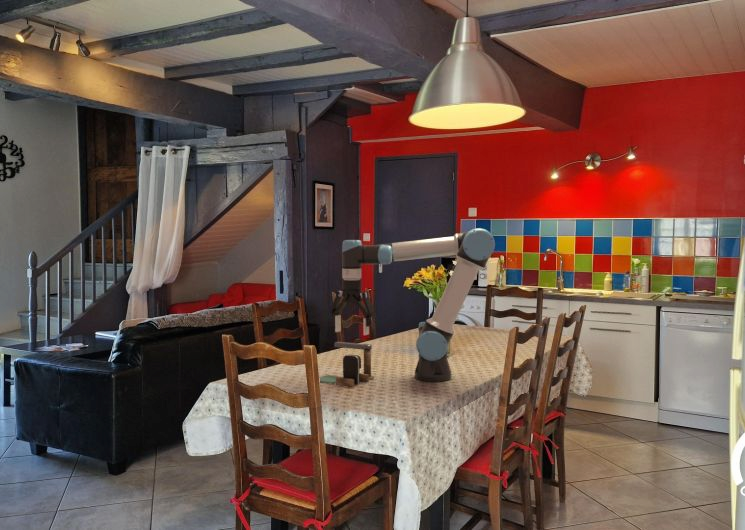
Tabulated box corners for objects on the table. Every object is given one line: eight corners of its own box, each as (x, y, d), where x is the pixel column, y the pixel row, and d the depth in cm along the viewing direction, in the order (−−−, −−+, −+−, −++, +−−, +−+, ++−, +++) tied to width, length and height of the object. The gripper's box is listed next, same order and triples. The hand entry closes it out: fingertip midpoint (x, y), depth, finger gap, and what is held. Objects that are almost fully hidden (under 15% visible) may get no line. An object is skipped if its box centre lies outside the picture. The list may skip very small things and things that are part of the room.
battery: (362, 383, 252) (362, 354, 251) (357, 385, 249) (357, 356, 248) (347, 381, 255) (347, 353, 255) (342, 383, 252) (342, 355, 251)
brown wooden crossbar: (368, 350, 258) (368, 346, 258) (333, 347, 266) (333, 342, 266) (373, 349, 261) (373, 344, 261) (338, 345, 269) (338, 341, 269)
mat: (347, 379, 259) (347, 377, 259) (332, 384, 251) (332, 382, 251) (328, 376, 265) (328, 374, 265) (312, 381, 257) (312, 379, 257)
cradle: (379, 378, 261) (378, 350, 260) (352, 387, 245) (352, 358, 244) (362, 376, 265) (362, 348, 265) (335, 385, 249) (335, 356, 249)
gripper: (320, 278, 254) (321, 331, 255) (373, 281, 240) (373, 337, 241) (332, 277, 260) (332, 329, 261) (383, 280, 246) (383, 334, 247)
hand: (351, 333), depth 251 cm, fingers open, 13 cm apart
